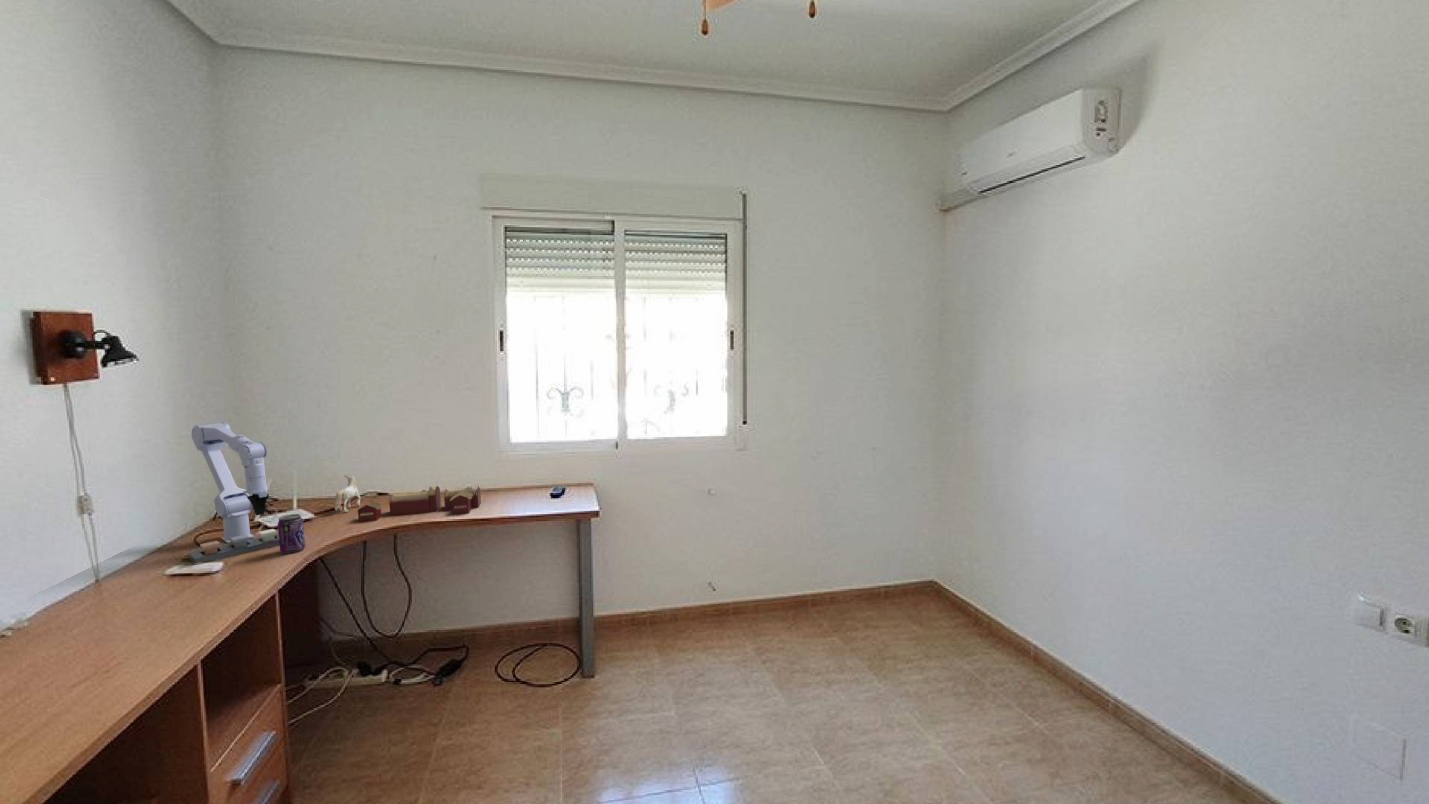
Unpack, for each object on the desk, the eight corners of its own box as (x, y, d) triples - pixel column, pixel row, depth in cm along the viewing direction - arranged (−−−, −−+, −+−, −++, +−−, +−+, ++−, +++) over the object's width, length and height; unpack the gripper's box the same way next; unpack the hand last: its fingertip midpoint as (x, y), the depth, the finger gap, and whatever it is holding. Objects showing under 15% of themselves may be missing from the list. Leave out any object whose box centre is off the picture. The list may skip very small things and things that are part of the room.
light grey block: (231, 547, 207) (229, 537, 207) (246, 543, 211) (245, 534, 210) (234, 550, 205) (233, 540, 204) (250, 546, 208) (249, 536, 208)
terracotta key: (201, 554, 201) (199, 544, 201) (217, 550, 205) (216, 540, 204) (204, 556, 198) (202, 546, 198) (220, 552, 202) (219, 543, 201)
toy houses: (481, 501, 266) (480, 479, 265) (475, 514, 246) (473, 490, 245) (369, 511, 255) (367, 488, 254) (353, 525, 236) (350, 500, 235)
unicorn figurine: (364, 502, 270) (362, 473, 269) (353, 513, 251) (351, 482, 250) (346, 504, 268) (343, 474, 266) (334, 515, 249) (331, 484, 248)
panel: (188, 558, 201) (188, 552, 201) (281, 537, 221) (280, 532, 221) (195, 564, 195) (194, 558, 194) (289, 543, 214) (289, 537, 214)
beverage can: (292, 554, 202) (289, 520, 201) (275, 553, 203) (271, 519, 202) (310, 547, 209) (307, 514, 207) (293, 546, 210) (290, 513, 209)
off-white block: (259, 541, 213) (258, 531, 213) (274, 537, 217) (273, 528, 216) (262, 543, 211) (261, 534, 210) (277, 540, 214) (276, 531, 214)
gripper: (236, 477, 215) (240, 514, 216) (247, 481, 206) (251, 520, 207) (260, 473, 220) (264, 509, 221) (272, 477, 211) (276, 515, 212)
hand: (259, 514), depth 214 cm, fingers closed
